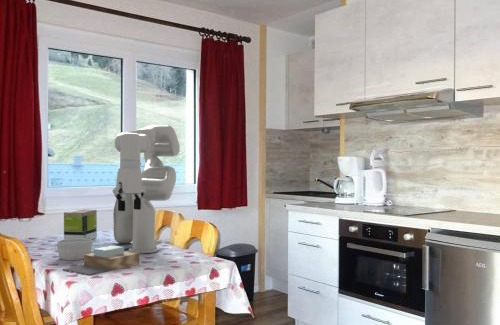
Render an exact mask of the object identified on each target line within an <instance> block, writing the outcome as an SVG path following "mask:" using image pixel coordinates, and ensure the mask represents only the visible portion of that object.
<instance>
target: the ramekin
mask: <svg viewBox="0 0 500 325" xmlns="http://www.w3.org/2000/svg"><path fill="white" fill-rule="evenodd" d="M93 244H94V241H93V239H64V238H63V239H60V240H58V241H57V243H56V246H57V249H58V250H57V252H58V257H59V258H60V259H61V260H62V261H84V255H86V254H92V246H93Z"/></svg>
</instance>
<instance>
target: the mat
mask: <svg viewBox="0 0 500 325" xmlns="http://www.w3.org/2000/svg"><path fill="white" fill-rule="evenodd" d="M63 270H66V271H65V272H69V271H71V272H70V273H74V272H76V273H75V274H79V273H82V274H81V275H84V274H86V276H94V275H97V274H102V273H107V272H110V271H112V270H111V269H105V268H100V267H94V266H88V265H84V264H81V265H77V266H72V267H71V266H70V267H66V268H62V271H63Z"/></svg>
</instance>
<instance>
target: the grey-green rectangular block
mask: <svg viewBox="0 0 500 325" xmlns="http://www.w3.org/2000/svg"><path fill="white" fill-rule="evenodd" d="M124 251H125V247H124V246H121V245H120V246H119V245H109V246H101V247H95V248H93V253H94V256H99V257H110V256H115V255H120V254H124Z"/></svg>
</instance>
